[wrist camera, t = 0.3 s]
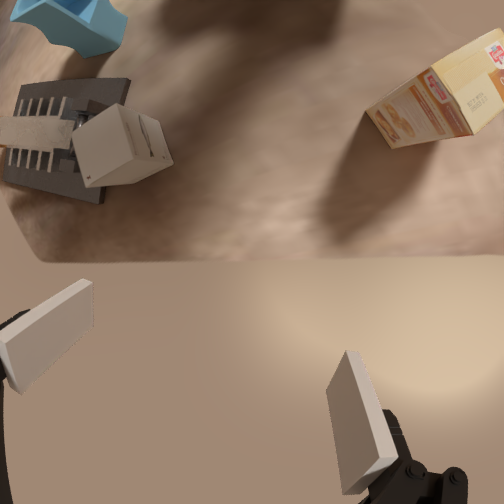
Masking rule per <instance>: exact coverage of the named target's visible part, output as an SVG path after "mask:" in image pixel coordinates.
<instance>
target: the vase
mask: <svg viewBox="0 0 504 504" xmlns="http://www.w3.org/2000/svg"><path fill="white" fill-rule="evenodd" d="M127 19H128V17H127V16H125V15H123V14H121V13H120V12H118V11H117V10H116V9H115V8H114V7H113V6H112V5H111V3H110V2H109V0H18V1H17V3H16V5H15V7H14V10H13V12H12V14H11V17H10V21H12V22H22V23H27V24H31V25H33V26H36V27H37V28H38V29H40V30H41V31H42V32H43V33H44V35H45V36H46V37H47V39H48V41H49V42H50V43H51V44H55V45H63V46H68V47H71V48H73V49H75V50H76V51H77V52H78V53H79V54H80V55H81V56H82V57H83V59H85V58H88V57H92V56H96V55H99V54H103V53H108V52H111V51H114V50H116V49H117V48H119V46H120V45H121V42H122V38H123V34H124V30H125V27H126V23H127Z"/></svg>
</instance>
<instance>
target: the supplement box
mask: <svg viewBox="0 0 504 504" xmlns="http://www.w3.org/2000/svg"><path fill="white" fill-rule="evenodd" d="M71 138H72V142H73V145H74V149H75V153H76V157H77V161H78V164H79V167H80V171H81V174H82V178H83V181H84V184H85V187H86V188H90V187H100V186H110V185H122V184H134V183H136V182H138V181H140V180H142V179H144V178H146V177H148V176H150V175H152V174H154V173H156V172H159V171H161V170H163V169H165V168H167V167H169V166H171V165H173V164H174V162H173V160H172V158H171V155H170V153H169V150H168V147H167V145H166V142H165V139H164V136H163V133H162V130H161V126H160V123H159V121H157V120H155V119H153V118H151V117H148V116H146V115H144V114H142V113H139V112H137V111H134V110H132V109H130V108H127V107H125V106H122V105H120V104H117V103H115V104H114V105H112V106H111V107H109V108H107V109H106V110H104V111H103V112H101V113H100V114H98V115H97V116H95V117H94V118H92V119H91V120H89V121H88V122H86V123H85V124H83V125H81V126H80V127H79V128H77V129H76V130H74V131H73V132H72V133H71Z"/></svg>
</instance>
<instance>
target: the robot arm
mask: <svg viewBox="0 0 504 504" xmlns="http://www.w3.org/2000/svg"><path fill="white" fill-rule="evenodd" d="M92 327H94V315H93V282H91V281H88V280H86V279H83V278H82V279H80V280H78V281H77V282H75V283H73V284H72V285H70V286H68V287H67V288H65V289H63V290H62V291H60V292H59V293H57V294H55V295H54V296H52V297H51V298H49V299H47V300H46V301H44V302H43V303H41V304H40V305H38V306H36V307H35V308H33V309H32V310H30V309H28V310H25V311H21V312H19V313H18V314H16V315H15V316H13V318H10V319H9V320H7V322H4V323H2V324H1V325H0V504H13V501H12V496H11V491H10V485H9V479H8V472H7V465H6V456H5V444H4V429H3V428H4V426H3V397H4V385H3V381H2V380H4V379H5V378H6V377H7V380H8V383H9V385H10V387H11V388H12V389H14V390H15V391H16V392H18V393H19V394H20V395H22V394H23V393H24V392H25V391H26V390H27V389H28V388H29V387H30V386H31V385H32V384H33V383H34V382H35V381H36V380H37V379H38V378H39V377H40V376H41V375H42V374H43V373H44V372H45V371H46V370H47V369H48V368H49V367H51V365H52V364H54V363H55V362H56V361H57V360H58V359H59V358H60V357H61V356H62V355H63V354H64V353H65V352H66V351H67V350H69V349H70V348H71V347H72V346H73V345H74V344H75V343H76V342H77V341H78V340H79V339H80V338H82V337H83V336H84V335H85V334H86V333H87V332H88V331H89V330H90V329H91V328H92ZM326 394H327V399H328V405H329V410H330V416H331V422H332V427H333V434H334V440H335V446H336V452H337V459H338V466H339V472H340V480H341V487H342V494H343V495H352V494H353V495H354V494H361V493H362V492H363V491H364V490H365V489H366V488H367V487H368V490H369V495H368V496H367V497H366V498H364V500H362V501H361V502H360V503H358V504H467V498H468V479H467V476H466V474H465V472H464V471H462V470H461V469H460V468H458V467H450V468H448V469H447V470H446V471H445V472H444V473H443V474H438V473H432V472H427V469H426V468H425V466H424V465H423V464H422V463H420V462H418V461H415V460H413V459H412V457H411V454H410V451H409V449H408V446H407V444H406V441H405V438H404V436H403V435H402V430H401V428H400V425H399V423H398V420H397V418H396V417H395V415H393V413H392V412H391V411H390V410H383V409H382V408H381V406H380V403H379V401H378V398H377V395H376V393H375V390H374V388H373V385H372V382H371V380H370V378H369V375H368V372H367V370H366V367H365V365H364V363H363V360H362V358H361V355H360V353H359V352H354V351H348V350H346V351H345V353H344V355H343V357H342V359H341V361H340V363H339V366H338V368H337V370H336V372H335V374H334V376H333V378H332V380H331V382H330V384H329V386H328V388H327V389H326Z"/></svg>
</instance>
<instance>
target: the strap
mask: <svg viewBox="0 0 504 504" xmlns="http://www.w3.org/2000/svg"><path fill="white" fill-rule="evenodd" d="M88 117H89V115H86V114H78V118H77V122H76V121H73V120H62V119H49V118H31V117H0V144H2V145H23V146H38V147H50V148H61V149H70V147H71V150H70V155H69V157H76V153H75V149H74V145H73V142H72V138H71V133H72V132H73V131H74V128H75V130H76V129H77V128H79V127H80V126H81V125H83V124H85V123H86V122H87V121H88ZM75 124H76V126H75ZM71 142H72V145H71Z"/></svg>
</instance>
